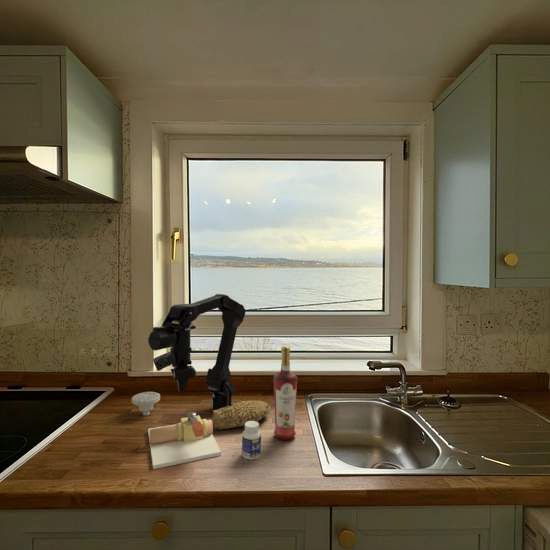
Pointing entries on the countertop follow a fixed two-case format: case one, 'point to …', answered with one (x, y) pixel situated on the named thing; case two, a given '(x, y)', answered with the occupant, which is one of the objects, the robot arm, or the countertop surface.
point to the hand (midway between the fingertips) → (181, 392)
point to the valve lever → (195, 424)
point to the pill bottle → (251, 440)
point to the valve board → (181, 443)
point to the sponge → (239, 414)
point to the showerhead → (146, 401)
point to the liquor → (285, 398)
